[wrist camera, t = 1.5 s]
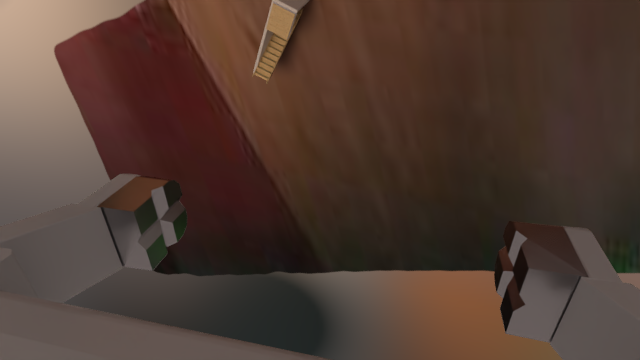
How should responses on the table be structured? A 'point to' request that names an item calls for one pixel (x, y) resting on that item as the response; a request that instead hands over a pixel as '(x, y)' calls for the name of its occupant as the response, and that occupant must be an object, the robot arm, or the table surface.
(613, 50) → the table surface
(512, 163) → the table surface
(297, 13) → the model
